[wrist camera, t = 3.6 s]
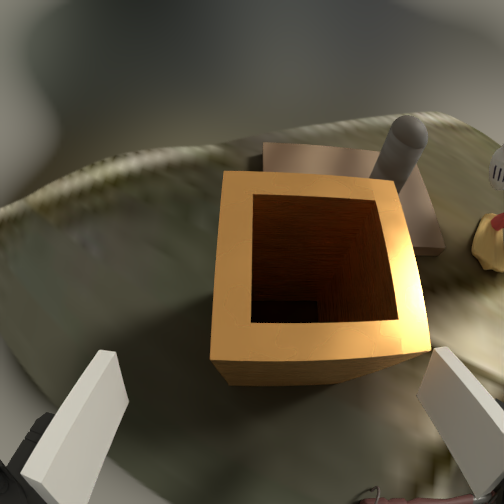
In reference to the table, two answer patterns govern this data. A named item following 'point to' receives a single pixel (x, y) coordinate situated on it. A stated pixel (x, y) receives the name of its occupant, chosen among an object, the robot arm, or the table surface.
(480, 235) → the toy
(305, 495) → the table surface
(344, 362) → the frame
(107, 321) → the table surface
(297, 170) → the post
